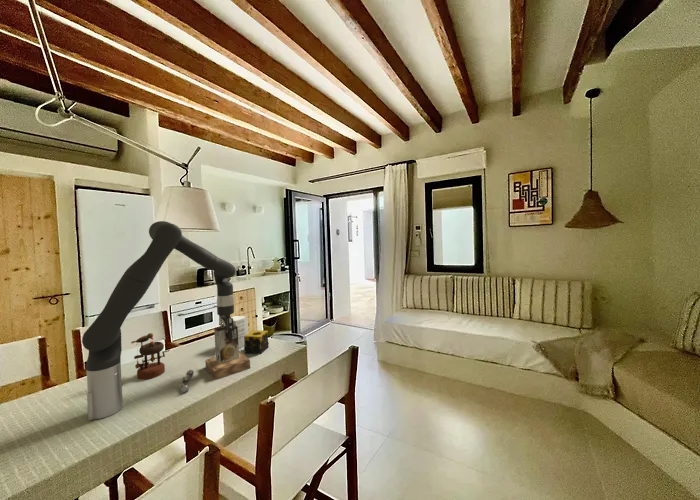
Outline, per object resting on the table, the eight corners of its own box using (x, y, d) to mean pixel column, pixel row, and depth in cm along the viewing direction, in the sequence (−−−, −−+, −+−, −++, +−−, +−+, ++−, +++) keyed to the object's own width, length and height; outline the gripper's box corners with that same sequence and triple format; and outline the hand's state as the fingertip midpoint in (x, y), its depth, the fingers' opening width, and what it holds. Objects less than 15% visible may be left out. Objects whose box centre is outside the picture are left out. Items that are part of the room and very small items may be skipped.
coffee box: (233, 354, 136) (232, 323, 136) (239, 358, 132) (238, 325, 131) (215, 360, 130) (213, 327, 129) (220, 364, 125) (218, 330, 125)
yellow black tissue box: (252, 346, 158) (252, 329, 157) (269, 347, 156) (268, 330, 156) (243, 353, 147) (243, 336, 147) (261, 354, 146) (260, 336, 146)
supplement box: (248, 344, 162) (247, 316, 161) (237, 349, 153) (236, 320, 153) (236, 342, 165) (235, 315, 165) (224, 347, 157) (223, 319, 156)
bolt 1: (188, 381, 118) (188, 375, 118) (181, 382, 118) (181, 376, 118) (193, 375, 124) (193, 369, 124) (187, 376, 124) (187, 370, 124)
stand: (214, 379, 120) (214, 370, 120) (205, 367, 132) (205, 359, 132) (250, 368, 130) (249, 359, 130) (238, 357, 142) (238, 349, 142)
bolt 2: (189, 391, 110) (188, 385, 110) (181, 394, 108) (180, 387, 108) (186, 386, 115) (186, 379, 115) (178, 388, 113) (178, 382, 113)
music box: (138, 384, 117) (134, 338, 118) (129, 379, 123) (126, 336, 124) (176, 369, 130) (173, 328, 130) (166, 366, 136) (163, 327, 136)
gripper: (238, 305, 127) (239, 338, 128) (228, 300, 138) (229, 331, 138) (221, 308, 122) (222, 342, 123) (213, 303, 133) (214, 335, 133)
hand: (226, 337), depth 131 cm, fingers open, 8 cm apart
